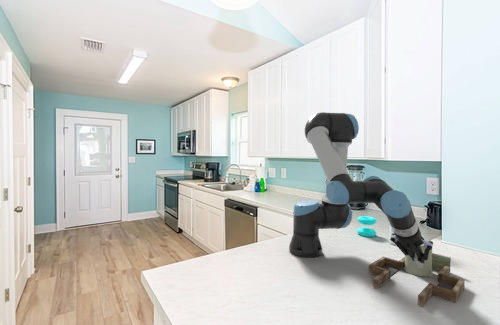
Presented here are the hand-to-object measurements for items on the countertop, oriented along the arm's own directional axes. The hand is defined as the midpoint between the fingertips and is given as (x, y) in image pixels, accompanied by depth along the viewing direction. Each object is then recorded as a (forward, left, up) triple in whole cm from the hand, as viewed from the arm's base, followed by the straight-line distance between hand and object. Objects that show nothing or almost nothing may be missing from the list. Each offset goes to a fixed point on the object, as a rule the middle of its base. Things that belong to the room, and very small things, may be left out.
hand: (420, 265), depth 95 cm
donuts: (+9, +51, -5) cm, 52 cm away
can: (+2, +4, -4) cm, 6 cm away
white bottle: (+17, +36, -4) cm, 40 cm away
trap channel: (-5, -2, -4) cm, 7 cm away
